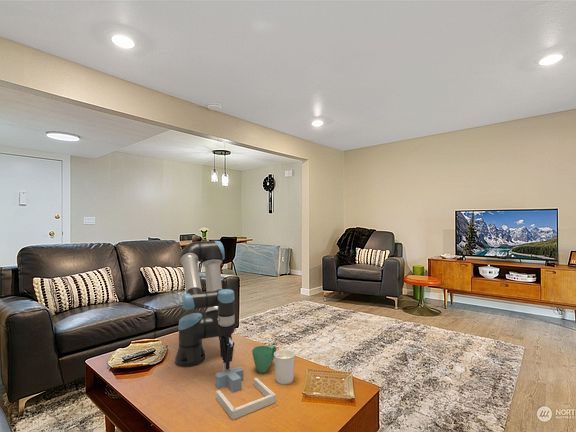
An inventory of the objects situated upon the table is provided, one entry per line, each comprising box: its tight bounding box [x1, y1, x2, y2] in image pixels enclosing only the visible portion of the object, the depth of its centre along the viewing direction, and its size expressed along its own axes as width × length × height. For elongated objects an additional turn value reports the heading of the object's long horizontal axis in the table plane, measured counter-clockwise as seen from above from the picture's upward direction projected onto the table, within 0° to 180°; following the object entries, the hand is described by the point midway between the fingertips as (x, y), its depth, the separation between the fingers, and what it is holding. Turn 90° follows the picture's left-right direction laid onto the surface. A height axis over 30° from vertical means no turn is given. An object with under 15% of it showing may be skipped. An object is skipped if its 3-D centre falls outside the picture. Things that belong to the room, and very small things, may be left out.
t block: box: [214, 366, 245, 393], centre depth 136 cm, size 10×12×5 cm
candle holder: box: [273, 348, 296, 385], centre depth 141 cm, size 10×10×12 cm
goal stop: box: [215, 377, 277, 420], centre depth 125 cm, size 16×19×3 cm
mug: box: [251, 344, 277, 374], centre depth 152 cm, size 15×10×10 cm
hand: (226, 374), depth 141 cm, fingers closed
